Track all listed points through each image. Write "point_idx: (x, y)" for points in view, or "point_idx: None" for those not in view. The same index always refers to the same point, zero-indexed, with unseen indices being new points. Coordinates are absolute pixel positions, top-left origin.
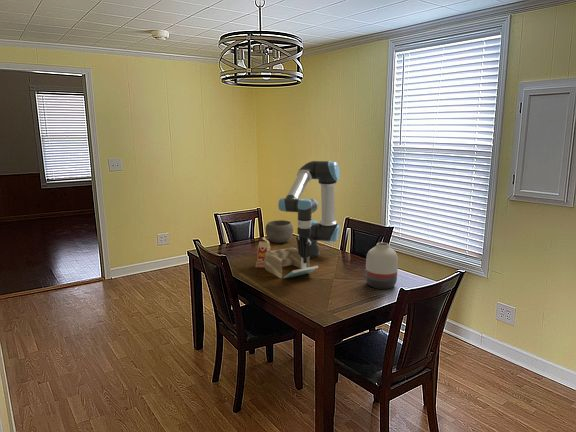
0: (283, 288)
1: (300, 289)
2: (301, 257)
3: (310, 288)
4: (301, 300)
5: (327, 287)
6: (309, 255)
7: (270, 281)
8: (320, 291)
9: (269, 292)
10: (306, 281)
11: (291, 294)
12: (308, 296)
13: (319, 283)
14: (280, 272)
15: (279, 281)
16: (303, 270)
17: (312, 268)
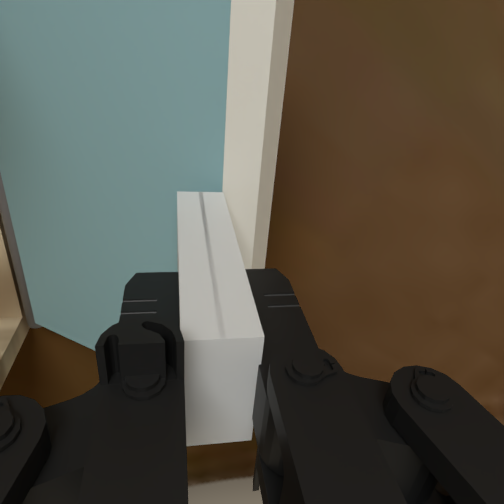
0: None
1: (338, 287)
2: (200, 437)
3: (384, 206)
4: (478, 367)
5: (500, 36)
6: (489, 413)
7: (30, 395)
8: (497, 174)
9: (240, 458)
10: None
11: (363, 375)
12: (476, 306)
13: (354, 26)
14: (1, 384)
15: (64, 341)
16: (264, 268)
17: (283, 83)
